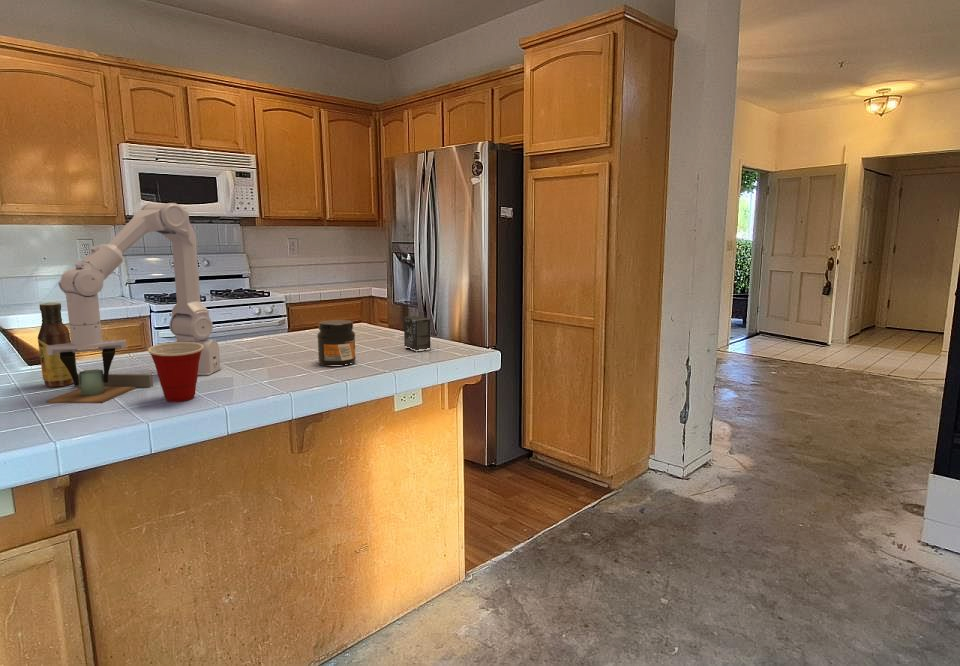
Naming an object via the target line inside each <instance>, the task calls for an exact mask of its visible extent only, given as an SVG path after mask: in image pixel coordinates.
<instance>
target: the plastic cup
mask: <svg viewBox="0 0 960 666" xmlns="http://www.w3.org/2000/svg"><path fill="white" fill-rule="evenodd" d="M203 348H204V347H203V345H202V344H199V343H194V342H177V341H172V342H163V343H158V344H155V345H151V346H150V347H148V349H147V350H148V354H150V356H151V358H152V360H153V363H154V366H155V369H156V373H157V376H158V380H159V383H160V387H161V389H162V393H163V397H164V398H165V401H166V402H168V403H169V402H171V403H172V402H173V403H179V402H185V401H189V400H193V399H194V398H195V396H196V389H197V383H198V376H199V375H198V366H199V360H200V355H201V351H202V350H203Z"/></svg>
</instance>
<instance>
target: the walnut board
mask: <svg viewBox="0 0 960 666" xmlns="http://www.w3.org/2000/svg"><path fill="white" fill-rule="evenodd" d="M104 389H105V392H104V393H102V394H99V395H92V396H83V395H81V387H78V388H76V389H74V390H71V391H68V392H65V393H64V394H60V395H58V396H56V397H53V398H49V399H48V400H45V401H46V404H50V403H51V404H52V403H53V404H54V403H56V404H58V403H59V404H60V403H63V404H64V403H67V404H69V403H70V404H104V403H105V402H108V401H110V400H112V399H115V398H117V397H119V396H121V395H123V394H126V393H129V392H131V391H133V390H134V389H136V387H104Z"/></svg>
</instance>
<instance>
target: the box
mask: <svg viewBox="0 0 960 666" xmlns="http://www.w3.org/2000/svg"><path fill="white" fill-rule="evenodd" d="M403 334H404V336H403V338H404V339H403V340H404V344H403V345H404V346H407V347H410V348H412V349H415V350H419V349H427V348H430V349H431V318H428V317H423V316H420V315H413V316H412V315H411V316H404V317H403Z"/></svg>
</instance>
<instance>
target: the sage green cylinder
mask: <svg viewBox="0 0 960 666" xmlns="http://www.w3.org/2000/svg"><path fill="white" fill-rule="evenodd" d="M78 374H79V375H80V386H81V387H80V388H81V395H83V396H92V395H99V394H102V393H104V392H105V389H104V378H103V374H104V369H98V368H97V369H86V370H82V371H79V373H78Z"/></svg>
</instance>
